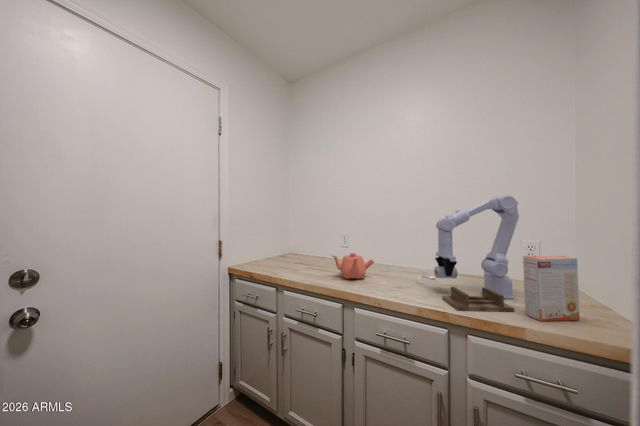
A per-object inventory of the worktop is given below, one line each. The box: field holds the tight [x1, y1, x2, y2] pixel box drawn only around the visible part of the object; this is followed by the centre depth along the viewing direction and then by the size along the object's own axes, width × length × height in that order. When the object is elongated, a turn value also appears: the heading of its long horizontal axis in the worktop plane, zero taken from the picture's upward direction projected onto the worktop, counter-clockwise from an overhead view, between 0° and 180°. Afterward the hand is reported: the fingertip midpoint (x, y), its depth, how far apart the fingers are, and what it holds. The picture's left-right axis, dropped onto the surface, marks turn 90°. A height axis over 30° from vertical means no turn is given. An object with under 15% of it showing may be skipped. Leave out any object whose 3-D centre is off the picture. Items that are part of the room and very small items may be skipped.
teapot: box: [330, 252, 375, 280], centre depth 133 cm, size 18×18×14 cm
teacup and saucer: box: [417, 270, 436, 280], centre depth 131 cm, size 9×8×4 cm
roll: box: [433, 266, 459, 279], centre depth 105 cm, size 8×5×5 cm, turn 86°
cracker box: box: [522, 255, 581, 322], centre depth 79 cm, size 14×6×21 cm, turn 92°
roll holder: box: [441, 286, 515, 313], centre depth 90 cm, size 20×12×6 cm, turn 86°
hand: (445, 274), depth 105 cm, fingers closed on roll, 5 cm apart
